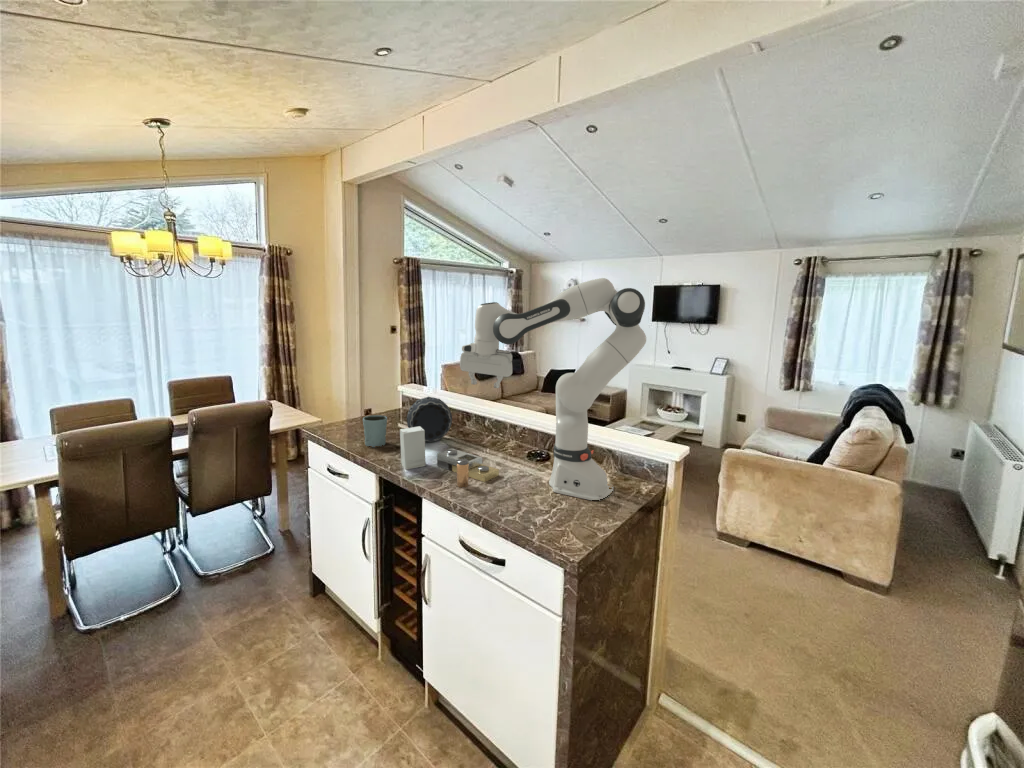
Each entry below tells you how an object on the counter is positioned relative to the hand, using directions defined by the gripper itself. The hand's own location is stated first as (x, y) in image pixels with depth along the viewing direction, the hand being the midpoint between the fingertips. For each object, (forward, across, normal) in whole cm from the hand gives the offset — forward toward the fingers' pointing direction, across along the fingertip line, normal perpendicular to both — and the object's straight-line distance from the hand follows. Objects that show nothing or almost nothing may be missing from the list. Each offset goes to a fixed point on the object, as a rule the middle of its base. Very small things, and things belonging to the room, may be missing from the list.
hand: (485, 385), depth 160 cm
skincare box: (+34, +25, +9) cm, 43 cm away
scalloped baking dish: (+34, +39, -20) cm, 56 cm away
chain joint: (+33, +5, +3) cm, 33 cm away
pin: (+33, -1, +15) cm, 36 cm away
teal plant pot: (+35, +56, -4) cm, 66 cm away
